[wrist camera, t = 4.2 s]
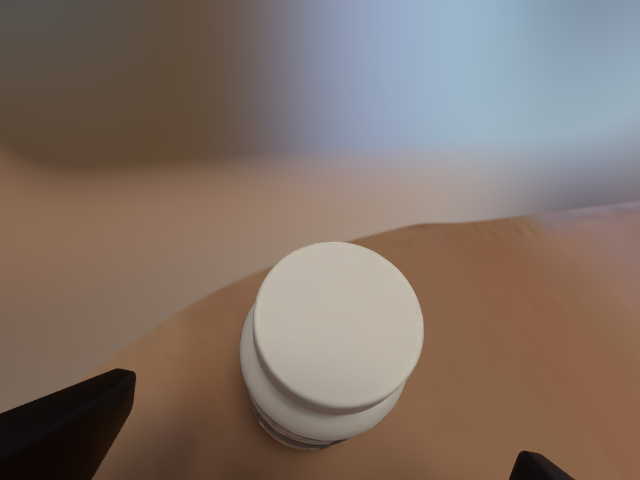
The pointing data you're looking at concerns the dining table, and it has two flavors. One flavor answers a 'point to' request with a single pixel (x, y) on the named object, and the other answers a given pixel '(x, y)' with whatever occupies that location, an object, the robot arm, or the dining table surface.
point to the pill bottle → (329, 344)
